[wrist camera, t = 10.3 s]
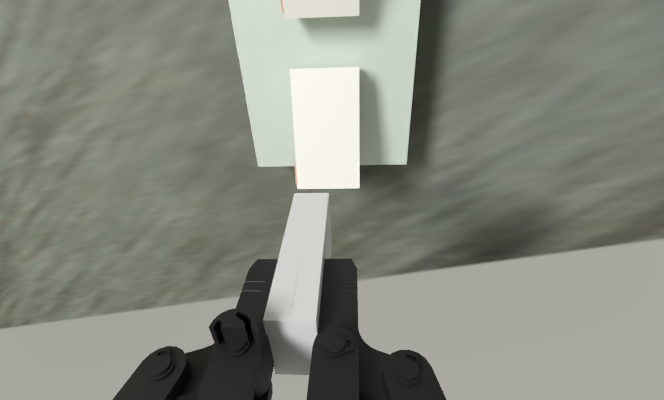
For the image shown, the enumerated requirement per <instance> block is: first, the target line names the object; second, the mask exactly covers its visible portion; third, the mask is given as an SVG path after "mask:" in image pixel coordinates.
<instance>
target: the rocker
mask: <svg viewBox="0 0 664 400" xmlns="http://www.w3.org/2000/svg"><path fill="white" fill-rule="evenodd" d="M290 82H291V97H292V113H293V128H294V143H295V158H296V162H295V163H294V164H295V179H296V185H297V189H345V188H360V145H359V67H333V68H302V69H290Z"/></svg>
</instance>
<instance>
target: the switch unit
mask: <svg viewBox="0 0 664 400" xmlns="http://www.w3.org/2000/svg"><path fill="white" fill-rule="evenodd" d="M227 1H228V6H229V12H230V17H231V18H232V24H233V29H234V35H235V40H236V46H237V52H238V57H239V58H238V61H239V67H240V72H241V78H242V83H243V89H244V95H245V97H246V102H247V107H248V113H249V118H250V124H251V129H252V135H253V140H254V146H255V151H256V157H257V163H258V167H264V166H295V164H294V163H295V162H296V158H295V143H294V128H293V113H292V97H291V82H290V69H302V68H333V67H359V145H360V165H406V164H407V153H408V142H409V130H410V119H411V107H412V96H413V84H414V73H415V61H416V50H417V38H418V27H419V15H420V3H421V0H359V16H342V17H318V18H293V19H285V16H284V13H282V6H281V0H227Z"/></svg>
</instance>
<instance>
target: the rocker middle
mask: <svg viewBox="0 0 664 400" xmlns="http://www.w3.org/2000/svg"><path fill="white" fill-rule="evenodd" d="M281 6H282V13H284V16H285V19H293V18H318V17H342V16H359V0H281Z"/></svg>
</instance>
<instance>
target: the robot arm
mask: <svg viewBox="0 0 664 400" xmlns="http://www.w3.org/2000/svg"><path fill="white" fill-rule="evenodd" d="M330 255H331V222H330V204H329V193H295V194H294V198H293V202H292V206H291V210H290V214H289V218H288V222H287V226H286V230H285V234H284V238H283V242H282V246H281V250H280V254H279V258H278V259H258V260H257V261H256V262H255V263H254V264H253V265H252V266H251V268H250V269H249V271H248V274H247V277H246V280H245V283H244V286H243V289H242V292H241V295H240V298H239V301H238V304H237V307H236V309H231V310H227V311H226V312H223V313H221V314H220V315H219V316H217V317H216V318H215V319H214V320H213V322H212V323H211V325H210V326H209V329H210V331H211V334H212V337H213V339H214V342H215V343H214V344H213V345H211V346H208V347H206V348H203V349H199V350H196V351H192V352H189V353H185V354H184V352H183V350H181V349H180V348H178V347H171V346H167V347H164V348H160V349H158V350H156V351H155V352H153V353H151V354H150V355H149V356H148V357H146V358H145V360H143V361H142V363H141V364H140V365H139V366H138V368H137V369H136V370H135V372H134V373H133V374H132V375H131V377H130V378H129V379H128V381H127V382H126V383H125V384H124V386H123V387H122V388H121V390H120V391H119V392H118V393H117V395H116V396H115V397H114V399H113V400H271V397H272V382H271V377H272V372H273V367H274V369H275V374H294V375H295V374H297V375H309V384H308V393H307V400H446V398H445V396H444V394H443V391H442V389H441V387H440V385H439V382H438V380H437V378H436V376H435V374H434V371H433V369H432V367H431V366H430V364H429V363H428V362H427V360H426V359H425V358H424V357H423V356H421V355H420V354H419V353H416V352H414V351H411V350H399V351H396V352H394V353H392V354H391V355H389V354H386V353H383V352H380V351H377V350H375V349H373V348H371V347H370V346H368V345H367V344H366V343H365V342H364V341H363V339H362V338H361V336H360V334H359V330H358V299H357V268H356V266H355V265H354V263H353V261H352V259H330Z"/></svg>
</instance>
